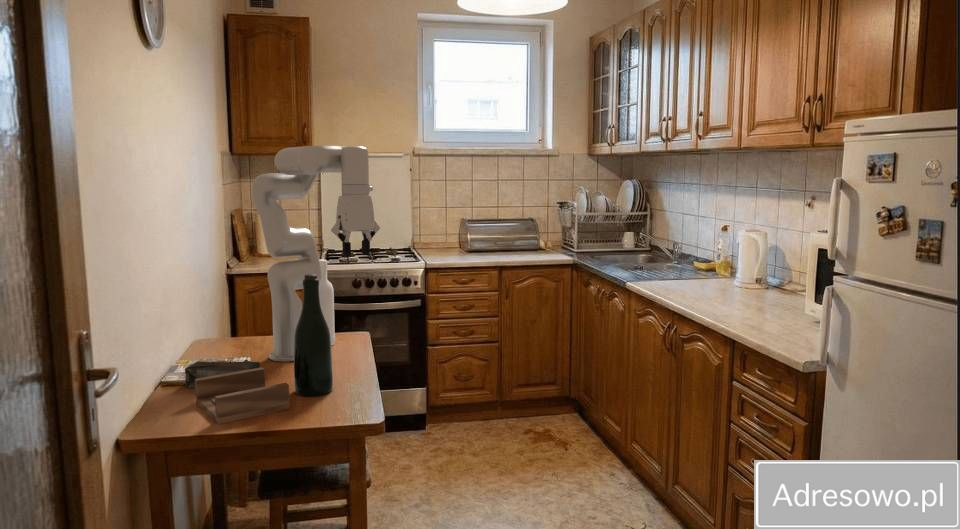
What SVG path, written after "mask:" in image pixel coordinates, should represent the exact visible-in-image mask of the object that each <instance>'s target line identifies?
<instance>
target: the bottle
mask: <svg viewBox="0 0 960 529" xmlns="http://www.w3.org/2000/svg"><path fill="white" fill-rule="evenodd" d="M319 261H320V266H321V272H322V278H321V281H320V283H319V298H320V305H321V310H322V313H323V315H324V318H325V320H326V322H327V325H328V327H329V331H330V336H331V347H332V346H334V345H335V342H336V335H335V333H336V332H335V329H336V328H335V296H334V295H335V292H334V291H335V290H334V286H333V284H332V283H331V281H329V280H328V261H327V259H320V258H319Z"/></svg>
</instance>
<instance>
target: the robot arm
mask: <svg viewBox="0 0 960 529" xmlns="http://www.w3.org/2000/svg"><path fill="white" fill-rule="evenodd" d="M274 165H275V168H276V169H277V170H278V171H279V172H271V173H270V172H269V173H262V174H260V175H258V176H256V177H255V178H254V180H253V182H252V184H251V198H252V202H253V205H254V207H255V209H256V211H257V213H258V216H259V218H260V222H261V229H262V233H263V237H264V242H265V247H266V251H267V253H268V255H269V256H270V257H271V258H274V259H282V258H284V259H285V258H286V259H287V258H293V257H294V258H295V257H297V258H298V259H296V260H285V261H278V262H276V263H273V264H272V265H271V266H270V267H269V268H268V270H267V282H268V285H269V286H268V287H269V289H270V290H269V291H270V296H271V311H272V312H271V313H272V314H271V315H272V337H273V339H272V340H273V344H272V345H273V351H271V352H269V354H268V359H269V360H271V361H275V362H281V363H282V362H286V363H287V362H294V334H295V329H296V326H297V323H298V320H299V318H300V315H301V311H302V306H303V301H302V299H301V298H300V296H299V295H298V294H297V292H296V290H300V289H301V290H303V280H304V279H305V278H304V276H305V275H307V274H316V275H317V279H318V280H319V283H320V281H321V278H322V272H321V266H320V261H319V260H320V257H319V253H318V252H319V251H318V248H317V243H316V240H315V236H314V235H313V233H312V231H311V230H309V229H308V228H306V227H301V226H300V227H292V226H290V222H289V218H288V213H287V212H286V211H285V209H284V207H283V206H282V205H281V204H280V203H278V201H279V200H299V199H304V198H305V197H307V195H308V194H309V192H310V191H311V189H312V187H313V185H314V183H315V182H316V180H317V178H318V177H319V174H320V173H340V174H341V179H340V180H341V195H339V196H338V198H337V199H338V200H337V206H336V214H335V215H336V217H335V224H334V225H333V227H332V228H331V229H330V232H331V233H332V234H334V235H335V236H336V237H337V238H338V239H339V240H340V242H342V253H343V256H344V257H348V258H349V257H351V256H352V245H351V242H349V241H350V238H351V233H352V232H353V233H354V232H361V235H362V238H363V239H362V241H361V254H362V255H367V256H369V255H370V251H371V241H372V239H373V237H374V236H375V235H376V233H378V232H379V231H380V230H381V227H380V225H379V224H378V223H377V222H376V220H375V212H374V205H373V200H372V196H371V195H370V192H373V190H374V188H373V186H370V184H369V183H370V178H369V177H370V176H369V174H370V173H369V170H370V169H369V150H368V148H367V147H364V146H356V145H354V146H352V145H348V146H346V145H323V144H322V145H305V146H293V147H286V148H282V149H281V150H279V151H278V152H277V153H276V154H275V156H274ZM277 200H278V201H277ZM341 231H342V232H341Z"/></svg>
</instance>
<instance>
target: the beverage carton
mask: <svg viewBox="0 0 960 529" xmlns="http://www.w3.org/2000/svg"><path fill="white" fill-rule="evenodd" d="M260 365H261V363H260V362H259V361H250V360H248V361H247V360H246V361H195V362H193V363H191V364H189V365H188V366H187V367H186V368H184V373H185V381H184V382H185V388H186V389H195V379H198V378H204V377H209V376H215V375H221V374H227V373H232V372H238V371H244V370H249V369H255V368H261V366H260Z"/></svg>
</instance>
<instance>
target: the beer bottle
mask: <svg viewBox="0 0 960 529" xmlns="http://www.w3.org/2000/svg"><path fill="white" fill-rule="evenodd" d="M304 278H305V279H304V280H303V289H302V291H303V292H302V293H303V294H302V311H301V315H300V318H299V320H298V323H297V326H296V329H295V334H294V361H293V384H294V392H295V393H296V394H298V395H300V396H303V397H316V396H322V395H325V394H328V393H330V392H331V391H332V390H333V388H334V382H333V380H334V377H333V376H334V375H333V374H334V373H333V356H332V355H333V354H332V346H331V336H330V331H329V327H328V325H327V322H326V320H325V318H324V315H323V313H322V310H321V305H320V298H319V280H318V279H317V275H316V274H307V275H305V276H304Z"/></svg>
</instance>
